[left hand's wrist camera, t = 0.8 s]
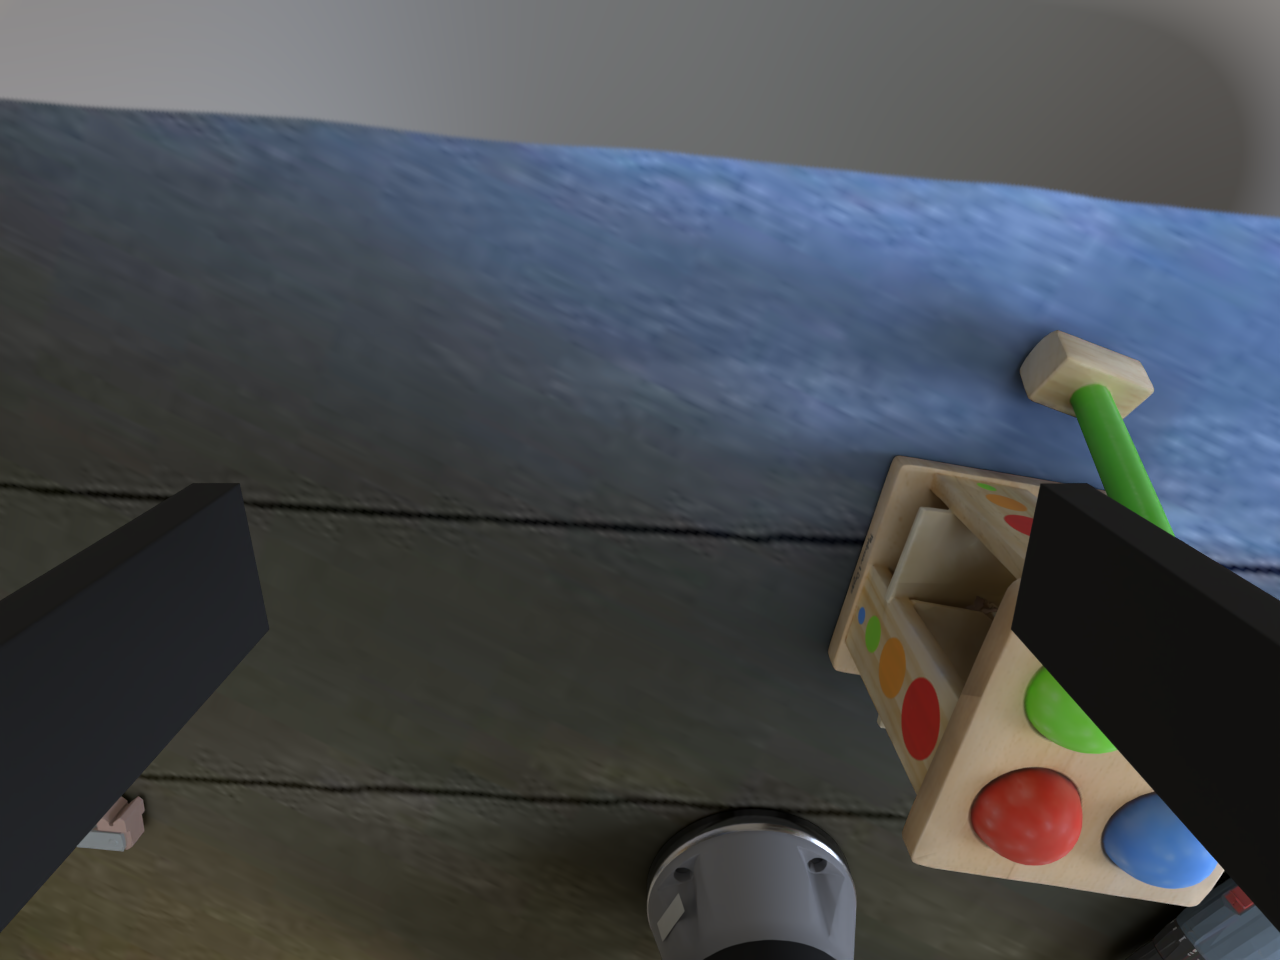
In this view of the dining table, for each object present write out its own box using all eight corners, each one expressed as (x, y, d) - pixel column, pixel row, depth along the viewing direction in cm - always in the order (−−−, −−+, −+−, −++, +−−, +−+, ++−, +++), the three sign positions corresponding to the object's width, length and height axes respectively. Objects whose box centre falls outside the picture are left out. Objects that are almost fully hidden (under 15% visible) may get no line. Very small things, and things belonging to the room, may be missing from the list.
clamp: (117, 787, 49) (136, 895, 52) (138, 763, 51) (155, 869, 54) (-117, 765, 48) (-81, 875, 52) (-85, 741, 50) (-54, 849, 54)
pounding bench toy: (942, 305, 39) (1165, 385, 23) (1189, 355, 40) (1578, 467, 23) (823, 658, 47) (922, 908, 31) (1031, 692, 48) (1236, 953, 32)
